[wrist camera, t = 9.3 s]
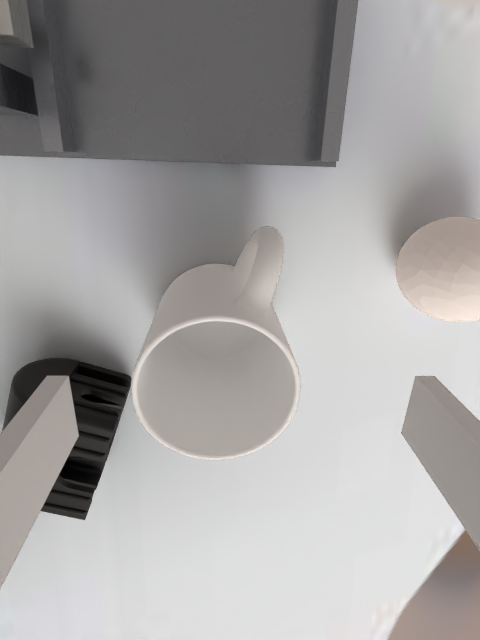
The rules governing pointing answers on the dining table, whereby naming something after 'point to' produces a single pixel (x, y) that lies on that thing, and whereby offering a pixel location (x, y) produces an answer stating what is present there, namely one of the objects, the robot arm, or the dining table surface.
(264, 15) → the dock
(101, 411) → the end cap
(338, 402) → the dining table surface
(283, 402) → the mug
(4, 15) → the lever
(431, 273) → the egg
